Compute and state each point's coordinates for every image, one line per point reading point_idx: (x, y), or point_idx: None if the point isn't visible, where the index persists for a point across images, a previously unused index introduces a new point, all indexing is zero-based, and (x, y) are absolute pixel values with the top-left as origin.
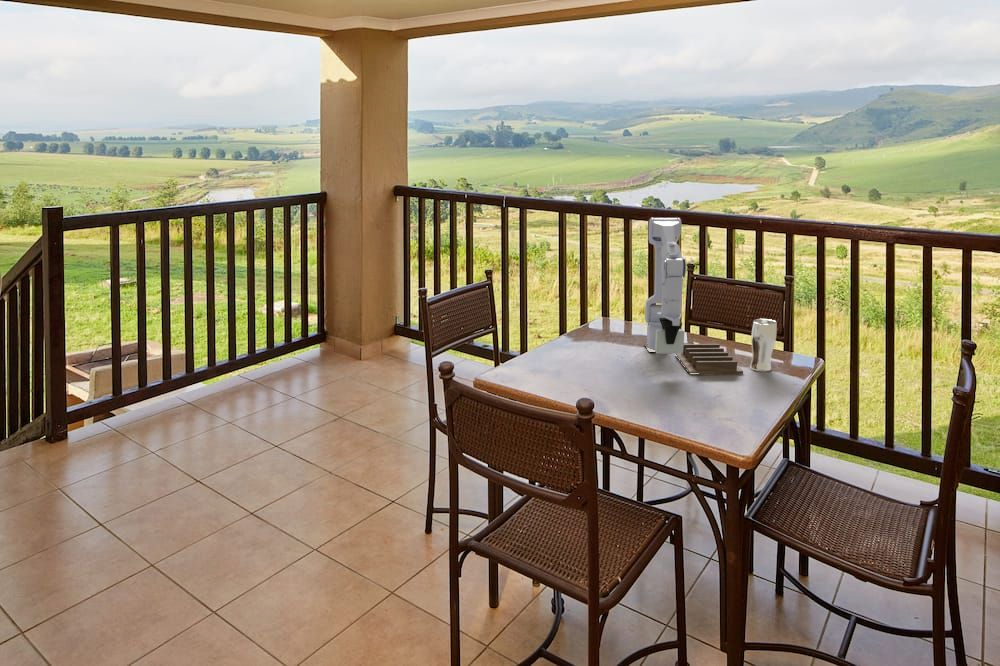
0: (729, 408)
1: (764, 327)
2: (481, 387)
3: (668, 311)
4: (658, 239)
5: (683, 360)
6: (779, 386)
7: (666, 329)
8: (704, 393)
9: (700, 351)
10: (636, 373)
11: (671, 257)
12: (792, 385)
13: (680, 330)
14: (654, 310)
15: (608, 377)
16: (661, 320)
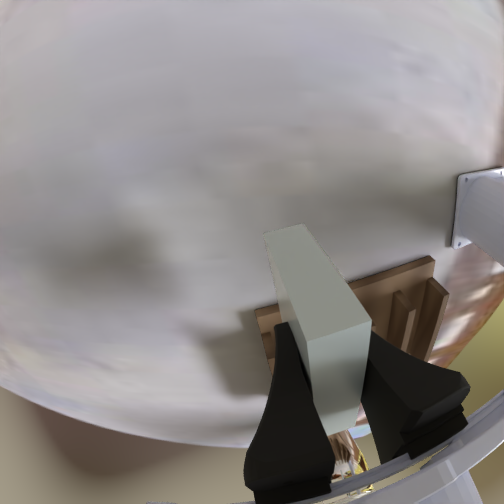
0: (52, 373)
1: (324, 500)
2: None
3: None
4: None
5: (371, 290)
6: (219, 434)
7: (262, 423)
8: (103, 344)
9: (397, 339)
10: (226, 113)
11: None
12: (230, 442)
13: (330, 427)
14: None
15: (145, 9)
16: (409, 415)
